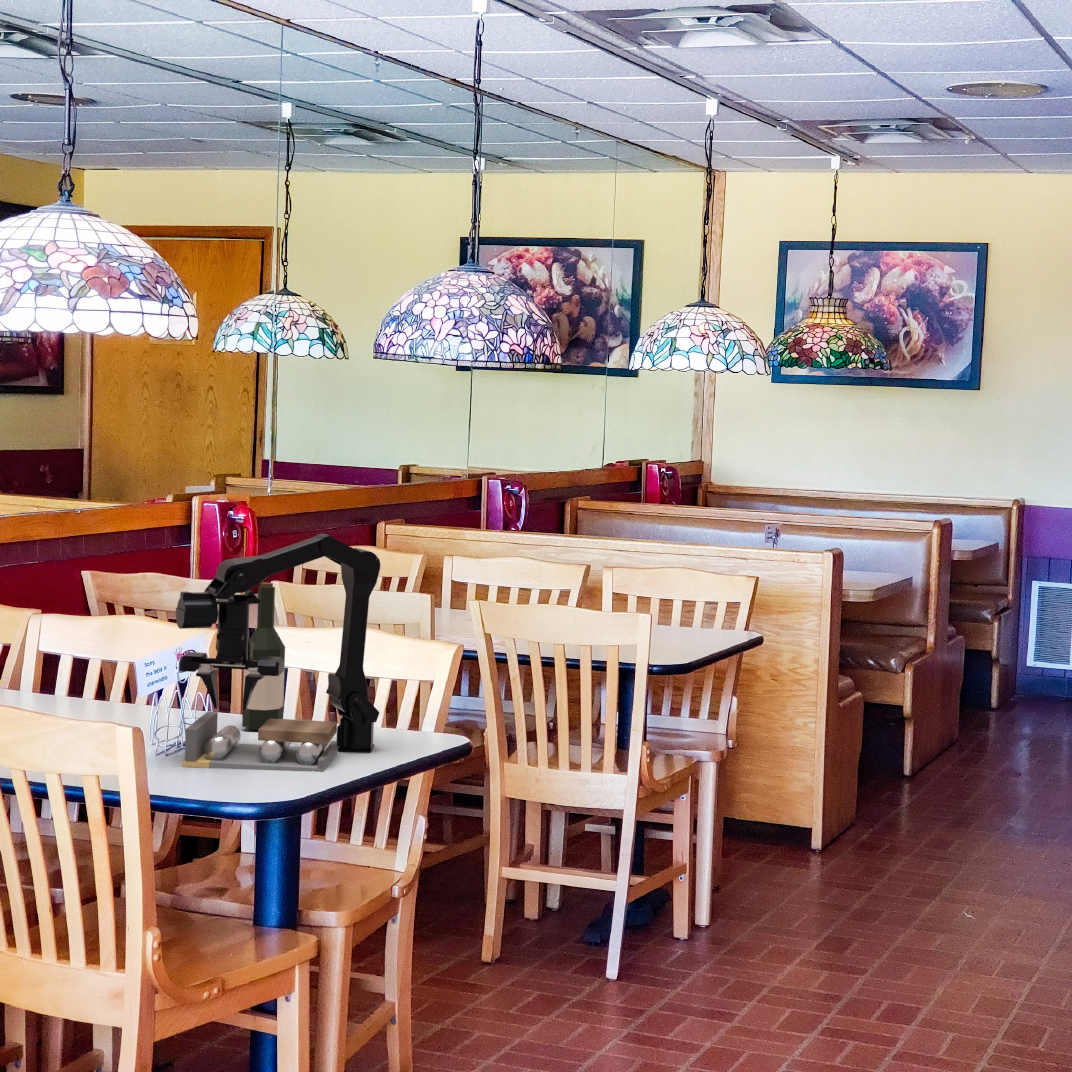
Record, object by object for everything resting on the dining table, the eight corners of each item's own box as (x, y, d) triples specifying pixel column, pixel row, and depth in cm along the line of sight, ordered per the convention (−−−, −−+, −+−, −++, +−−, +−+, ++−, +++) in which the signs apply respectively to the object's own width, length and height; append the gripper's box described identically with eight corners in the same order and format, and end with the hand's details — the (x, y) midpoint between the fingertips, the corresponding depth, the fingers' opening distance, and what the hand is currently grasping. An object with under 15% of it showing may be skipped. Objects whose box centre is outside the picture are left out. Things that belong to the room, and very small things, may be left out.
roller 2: (268, 744, 284) (275, 725, 284) (288, 751, 284) (295, 732, 284) (255, 758, 272) (262, 738, 272) (275, 766, 272) (283, 746, 272)
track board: (336, 753, 286) (338, 718, 285) (322, 773, 270) (324, 736, 269) (203, 746, 286) (204, 711, 286) (181, 766, 271) (182, 729, 270)
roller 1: (229, 749, 284) (215, 733, 284) (244, 737, 284) (231, 721, 284) (213, 764, 272) (199, 747, 272) (230, 751, 272) (216, 734, 272)
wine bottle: (243, 730, 302) (247, 585, 300) (240, 721, 310) (244, 580, 308) (284, 730, 304) (289, 585, 302) (280, 721, 312) (285, 580, 310)
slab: (336, 732, 282) (337, 721, 282) (327, 743, 272) (328, 733, 272) (269, 728, 283) (269, 718, 282) (258, 740, 273) (258, 729, 273)
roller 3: (304, 745, 284) (312, 726, 283) (324, 753, 284) (331, 734, 283) (293, 760, 272) (300, 740, 271) (313, 768, 272) (320, 748, 271)
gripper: (290, 623, 284) (288, 703, 285) (194, 618, 284) (192, 698, 286) (279, 632, 273) (276, 715, 274) (179, 627, 273) (176, 709, 275)
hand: (230, 709), depth 277 cm, fingers open, 5 cm apart
